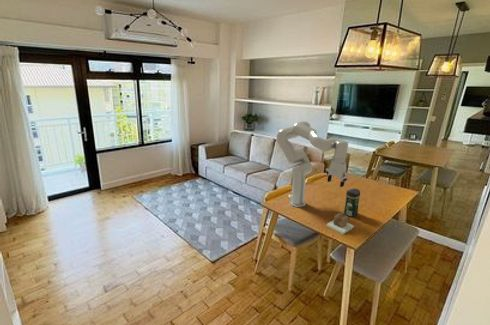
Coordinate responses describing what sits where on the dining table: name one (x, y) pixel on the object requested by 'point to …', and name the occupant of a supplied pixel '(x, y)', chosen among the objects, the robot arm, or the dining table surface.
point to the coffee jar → (352, 202)
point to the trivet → (341, 230)
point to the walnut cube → (340, 220)
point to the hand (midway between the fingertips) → (335, 183)
